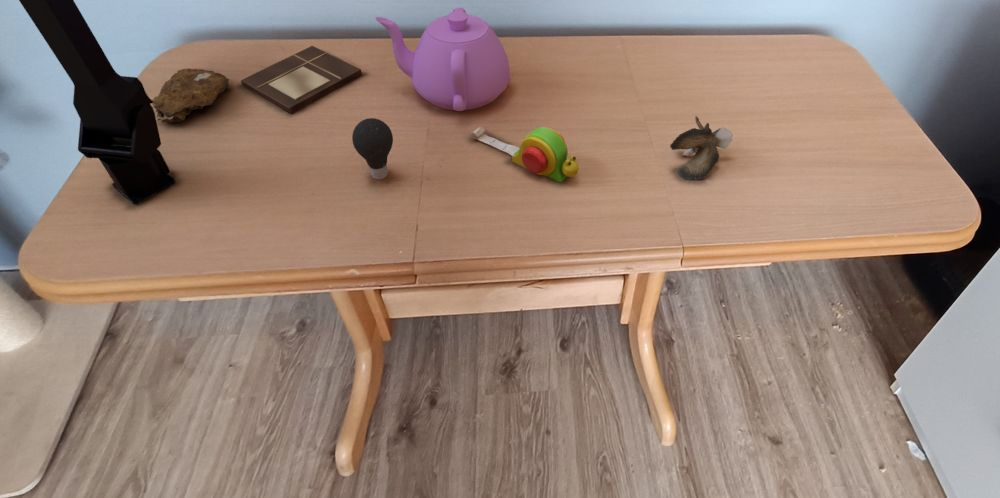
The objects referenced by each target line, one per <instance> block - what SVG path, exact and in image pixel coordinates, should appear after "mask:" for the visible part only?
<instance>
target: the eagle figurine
mask: <svg viewBox="0 0 1000 498" xmlns="http://www.w3.org/2000/svg"><path fill="white" fill-rule="evenodd" d="M694 119H695V123H696V126H697V127H698V128H696V127H693V128H690V129H688V130H685V131H683V132H682V133H680V134H679V135H678V136H677V137H675V139H673V141H672V143H670V145H669V147H670V149H671V151H675V150H685V151H684V152H683V154H682V157H684V156H690V155H692V154H694V155H693V156H692V157H691V158H690V159H689V160H688V161H687V162H685V163H684V164H682V165H681V166H680V167H679V168H677V172H678V175H679V176H680V178H681V179H683V180H689V181H692V180H695V181H697V180H702V179H704V178H706V177H708V175H709V174H710V173H711V171H712V170H713V168H714V167H715V166H716V164H717V163H718V162H719V160H720V154H719V151H718V148H721V149H727V148H729V146H730V144H731V142H733V137H734V134H733V133H732V131H731V130H730V129H729V128H727V127H719V128H718V129H716V130H715V131H713V130H712V129H711V127H710V123H709V122H706V124H704V125H703V124H702V123H701V121H700V118H699V116H697V115H696V116H695V117H694ZM712 131H713V132H712Z"/></svg>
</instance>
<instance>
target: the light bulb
mask: <svg viewBox="0 0 1000 498" xmlns="http://www.w3.org/2000/svg"><path fill="white" fill-rule="evenodd" d="M351 139H352V145H353V147H354V149H355V150H356V152H357V154H358V155H359V156H361V157H362V158H363V159H364V160H365V162H366V164H367V165H368V167H369V171H370V174H371V177H372V178H374V179H376V180H383V179H384V178H386V177H387V176H388V173H389V169H388V157H389V154H390V152H391V151H392V147H393V145H394V137H393V132H392V130H391V128H390V126H389V125H388V124H387V123H386V122H384V121H383V120H381V119H380V118H379V119H378V118H376V117H375V118H373V117H370V118H368V117H367V118H365V119H363V120H361V121H359V122H358V123H357V125H355V127H354V128H353V131H352V137H351Z"/></svg>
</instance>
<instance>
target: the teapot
mask: <svg viewBox="0 0 1000 498" xmlns="http://www.w3.org/2000/svg"><path fill="white" fill-rule="evenodd" d="M375 21H377V22H378V23H379V24H380V25H382V26H383V27H384V28H385V29H386V31H387V32H388V34H389V36H390V40H391V43H392V49H393V55H394V59H395V62H396V64H397V66H398V68H399V69H400V71H402V72H403V74H405V75H406V76H408V77H409V78H411V84H412V86H413V87H414V89H415V91H416V92H417V93H418V95H420V96H421V97H422V98H423V99H424V100H426V101H427V102H428V103H430V104H431V105H434V106H436V107H438V108H442V109H445V110H450V111H451V110H453V111H456V112H463V111H467V110H473V109H478V108H481V107H484V106H487V105H488V104H490V103H491V102H493V101H495V100H496V99H498V97H499V96H500V95H501V94H502V93H503V92H504V91H505V90H506V88H507V87H508V86H509V85H508V84H509V82H510V79H511V67H510V62H509V59H508V55H507V52H506V50H505V47H504V46H503V43H502V42H501V40H500V38H499V37H498V35H497V34H496V32H495V31H494V29H493V28H492V27H491V25H489V23H488V22H487V21H486V20H484V19H483V18H482V17H479V16H476V15H472V14H468V13H467V12H466V9H465V8H463V7H455V8H453V9H452V11H451V12H449V13H447V14H446V15H442V16H440V17H438V18H435V19H434V20H432V21H431V22H430V23H429V24H428V25H427V27H426V28H425V30H424V31H423V33H422V35H421V36H420V38H419V41H418V42H417V45H416V47H415V49H414V51H412V50H411V49H409V48H408V46H407V45H406V43H405V41H404V37H403V34H402V30H401V29H400V26H399V25H398V24H397V23H396V22H395V21H393V20H391V19H389V18H386V17H381V16H376V17H375Z"/></svg>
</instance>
